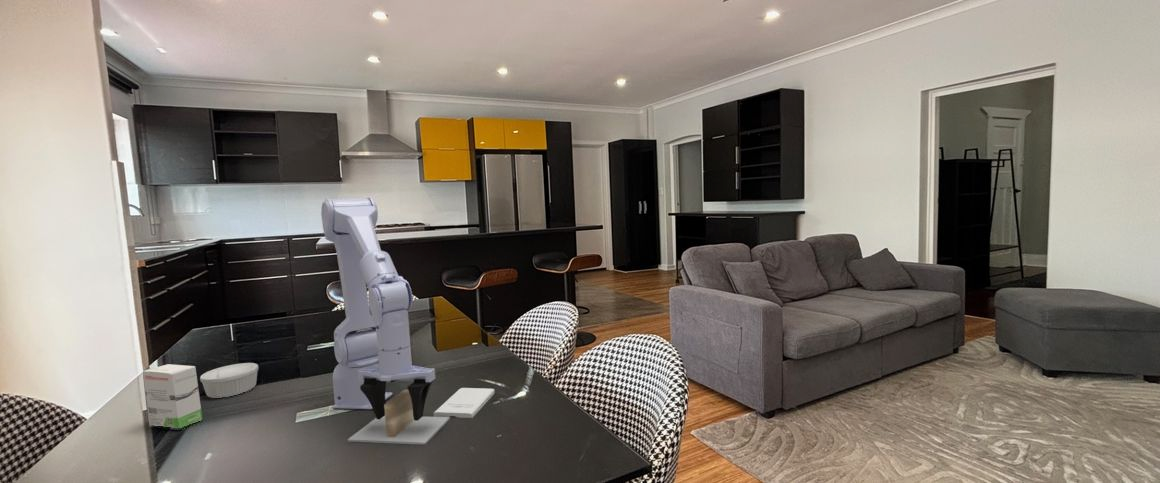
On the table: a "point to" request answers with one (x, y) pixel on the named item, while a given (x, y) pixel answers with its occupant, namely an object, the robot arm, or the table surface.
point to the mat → (411, 434)
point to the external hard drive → (465, 403)
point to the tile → (398, 413)
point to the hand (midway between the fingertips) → (399, 417)
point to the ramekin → (230, 380)
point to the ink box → (172, 396)
